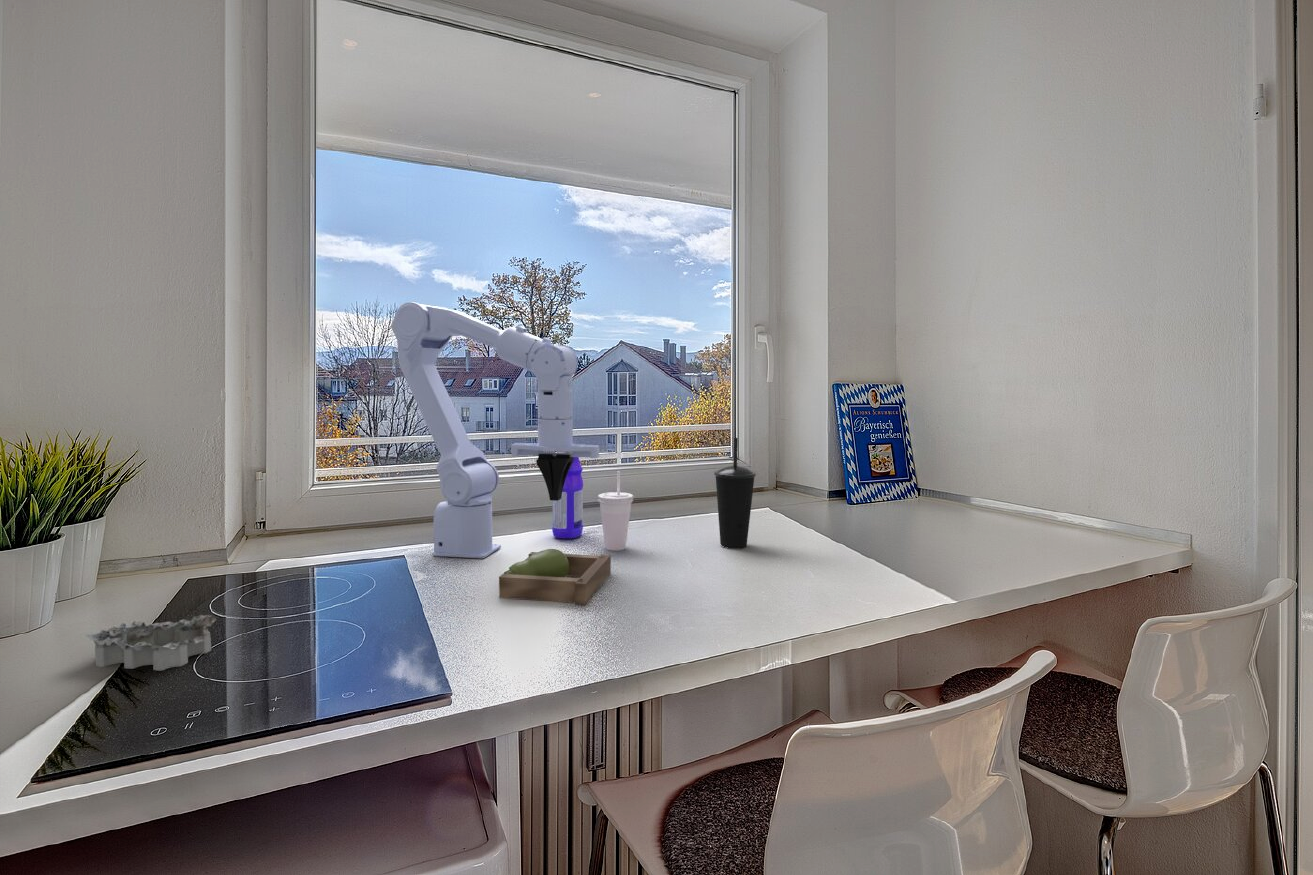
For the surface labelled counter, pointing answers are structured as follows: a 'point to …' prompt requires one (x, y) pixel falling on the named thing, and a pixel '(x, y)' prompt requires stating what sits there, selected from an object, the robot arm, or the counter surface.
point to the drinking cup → (734, 502)
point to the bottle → (569, 505)
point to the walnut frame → (560, 581)
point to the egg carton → (153, 643)
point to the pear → (542, 564)
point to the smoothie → (615, 517)
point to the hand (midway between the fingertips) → (555, 499)
